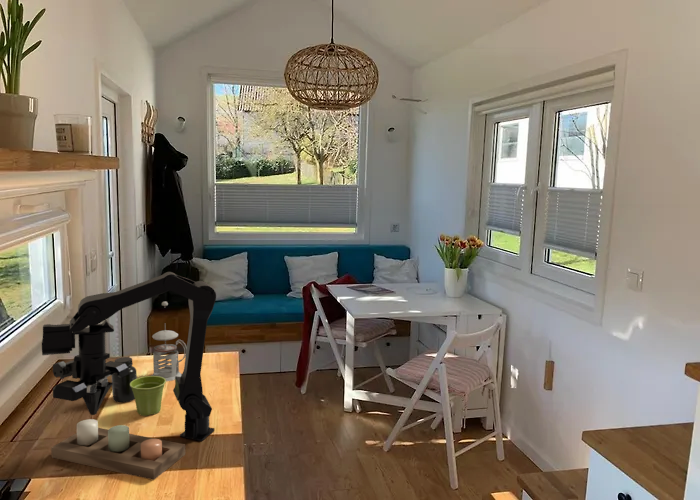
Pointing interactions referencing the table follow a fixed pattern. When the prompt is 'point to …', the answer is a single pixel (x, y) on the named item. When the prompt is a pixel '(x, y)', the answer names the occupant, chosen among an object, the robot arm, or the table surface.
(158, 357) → the french press
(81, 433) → the button cream
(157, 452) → the button rust
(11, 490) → the table surface
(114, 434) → the button sage
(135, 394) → the plant pot
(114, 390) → the supplement bottle
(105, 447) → the wooden compartment tray
